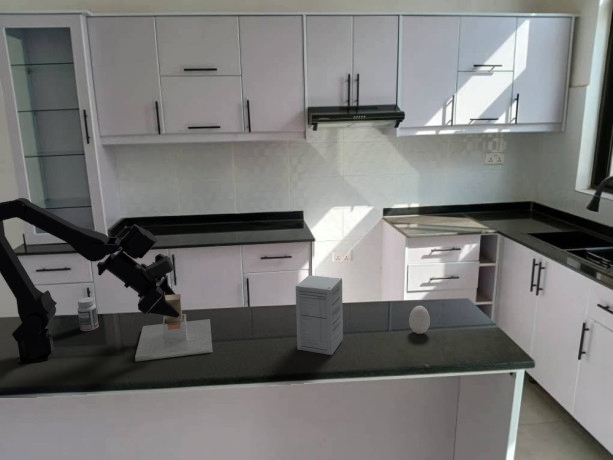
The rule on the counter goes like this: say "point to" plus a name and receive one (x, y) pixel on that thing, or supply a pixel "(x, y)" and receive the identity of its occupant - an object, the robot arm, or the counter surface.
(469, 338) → the counter surface
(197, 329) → the stand
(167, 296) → the post
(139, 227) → the robot arm
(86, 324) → the pill bottle
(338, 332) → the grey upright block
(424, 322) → the egg
